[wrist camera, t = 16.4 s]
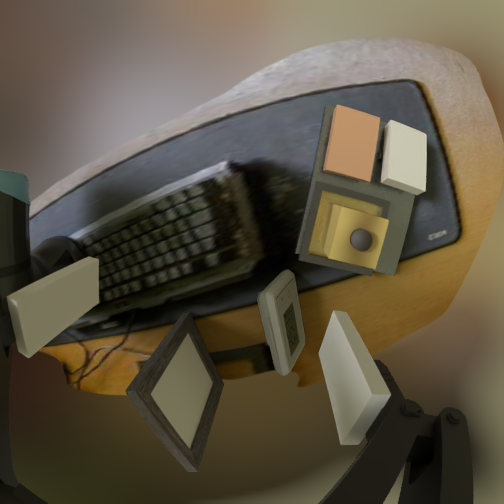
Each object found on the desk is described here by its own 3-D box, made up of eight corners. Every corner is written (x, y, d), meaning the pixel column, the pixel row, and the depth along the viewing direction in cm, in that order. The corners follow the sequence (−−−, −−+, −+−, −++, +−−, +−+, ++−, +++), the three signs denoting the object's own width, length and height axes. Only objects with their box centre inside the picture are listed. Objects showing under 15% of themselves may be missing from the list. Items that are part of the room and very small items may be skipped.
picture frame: (224, 383, 48) (197, 471, 28) (214, 385, 48) (185, 471, 28) (190, 311, 45) (135, 390, 25) (180, 314, 46) (122, 391, 25)
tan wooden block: (319, 244, 38) (330, 261, 29) (329, 202, 37) (344, 207, 28) (357, 253, 38) (378, 272, 29) (368, 213, 37) (392, 221, 28)
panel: (293, 253, 41) (295, 259, 38) (324, 108, 36) (328, 101, 32) (388, 274, 40) (396, 281, 37) (418, 139, 35) (428, 136, 32)
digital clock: (304, 345, 45) (308, 378, 36) (259, 345, 45) (254, 377, 37) (309, 267, 42) (316, 288, 33) (258, 267, 42) (252, 288, 34)
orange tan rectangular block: (322, 170, 35) (325, 169, 32) (334, 109, 33) (337, 104, 30) (364, 182, 35) (369, 181, 32) (374, 122, 33) (380, 118, 30)
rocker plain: (380, 182, 33) (387, 177, 31) (384, 126, 34) (390, 119, 31) (416, 195, 33) (425, 191, 31) (418, 140, 33) (426, 134, 31)
